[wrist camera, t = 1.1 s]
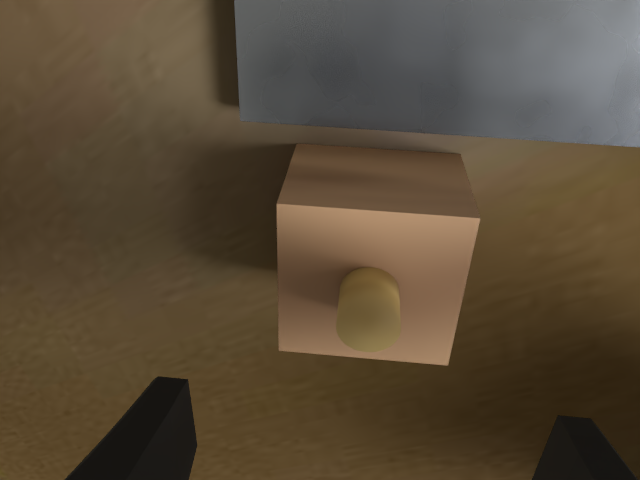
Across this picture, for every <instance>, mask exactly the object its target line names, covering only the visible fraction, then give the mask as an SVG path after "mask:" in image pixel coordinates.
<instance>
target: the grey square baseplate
mask: <svg viewBox="0 0 640 480" xmlns="http://www.w3.org/2000/svg"><path fill="white" fill-rule="evenodd" d="M234 7H235V27H236V47H237V68H238V88H239V109H240V121H249V122H264V123H279V124H294V125H309V126H325V127H340V128H355V129H370V130H385V131H401V132H416V133H431V134H446V135H461V136H477V137H492V138H507V139H522V140H537V141H553V142H568V143H583V144H598V145H613V146H629V147H640V0H234Z"/></svg>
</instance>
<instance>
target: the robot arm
mask: <svg viewBox="0 0 640 480" xmlns="http://www.w3.org/2000/svg"><path fill="white" fill-rule="evenodd" d="M196 448H197V440H196V433H195V426H194V419H193V412H192V405H191V398H190V391H189V383H188V379H179V378H168V377H157V378H155V379H154V380H153V381H152V382H151V384H150V385H149V386H148V387H147V388H146V390H145V391H144V392H143V393H142V394H141V395H140V397H139V398H138V399H137V400H136V401H135V403H134V404H133V405H132V406H131V407H130V408H129V410H128V411H127V412H126V413H125V414H124V415H123V417H122V418H121V419H120V420H119V421H118V422H117V423H116V425H115V426H114V427H113V428H112V429H111V430H110V431H109V432H108V434H107V435H106V436H105V437H104V438H103V439H102V440H101V441H100V442H99V443H98V445H97V446H96V447H95V448H94V449H93V450H92V451H91V452H90V453H89V454H88V455H87V456H86V457H85V459H84V460H83V461H82V462H81V463H80V464H79V465H78V466H77V467H76V468H75V469H74V470H73V471H72V472H71V473H70V474H69V475H68V477H67V478H66V479H65V480H189V476H190V472H191V468H192V464H193V460H194V456H195V452H196ZM532 480H638V479H637V478H636V477H635V475H634V474H633V473H632V471H631V470H630V469H629V467H628V466H627V465H626V464H625V462H624V461H623V460H622V458H621V457H620V456H619V454H618V453H617V452H616V450H615V449H614V448H613V447H612V445H611V444H610V443H609V441H608V440H607V439H606V437H605V436H604V435H603V433H602V432H601V431H600V429H599V428H598V427H597V426H596V424H595V423H594V422H593V421H592V419H590V418H580V417H569V416H559V415H558V417H557V419H556V421H555V424H554V426H553V429H552V431H551V434H550V436H549V439H548V441H547V444H546V446H545V449H544V451H543V454H542V456H541V458H540V461H539V463H538V466H537V468H536V471H535V473H534V476H533V478H532Z"/></svg>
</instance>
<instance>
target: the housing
mask: <svg viewBox="0 0 640 480" xmlns="http://www.w3.org/2000/svg"><path fill="white" fill-rule="evenodd" d="M479 222H480V216H479V212H478V209H477V206H476V203H475V199H474V196H473V193H472V190H471V187H470V183H469V180H468V177H467V174H466V171H465V167H464V164H463V161H462V158H461V154H450V153H435V152H420V151H405V150H389V149H374V148H359V147H344V146H328V145H313V144H298V143H297V144H296V147H295V150H294V153H293V156H292V159H291V162H290V165H289V168H288V171H287V174H286V177H285V180H284V183H283V186H282V189H281V192H280V195H279V198H278V201H277V262H278V328H279V351H289V352H301V353H312V354H323V355H334V356H346V357H357V358H368V359H380V360H391V361H402V362H413V363H425V364H436V365H447V366H448V363H449V358H450V354H451V349H452V345H453V340H454V336H455V331H456V327H457V322H458V318H459V313H460V308H461V304H462V299H463V295H464V290H465V286H466V281H467V277H468V272H469V268H470V263H471V259H472V254H473V249H474V245H475V240H476V236H477V231H478V227H479Z"/></svg>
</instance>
